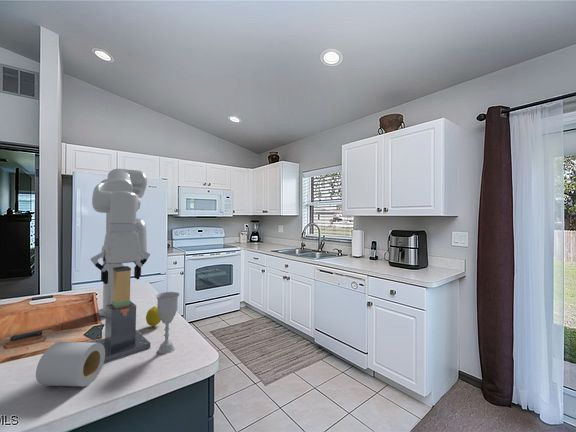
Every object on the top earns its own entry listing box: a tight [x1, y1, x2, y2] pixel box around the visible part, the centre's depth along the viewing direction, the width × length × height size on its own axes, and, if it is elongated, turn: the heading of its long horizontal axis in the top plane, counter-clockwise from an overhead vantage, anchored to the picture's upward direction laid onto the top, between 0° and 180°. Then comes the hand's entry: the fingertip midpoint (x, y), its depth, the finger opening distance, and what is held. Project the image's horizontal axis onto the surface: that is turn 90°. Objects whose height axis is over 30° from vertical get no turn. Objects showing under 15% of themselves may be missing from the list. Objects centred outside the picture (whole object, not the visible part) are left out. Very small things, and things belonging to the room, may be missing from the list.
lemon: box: [145, 305, 162, 328], centre depth 105 cm, size 6×6×8 cm
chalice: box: [155, 291, 180, 354], centre depth 88 cm, size 7×7×18 cm
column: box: [112, 265, 132, 309], centre depth 88 cm, size 4×4×19 cm
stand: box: [89, 301, 151, 364], centre depth 88 cm, size 14×14×14 cm
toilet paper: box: [35, 341, 105, 387], centre depth 70 cm, size 10×10×10 cm
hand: (121, 280), depth 88 cm, fingers open, 8 cm apart
